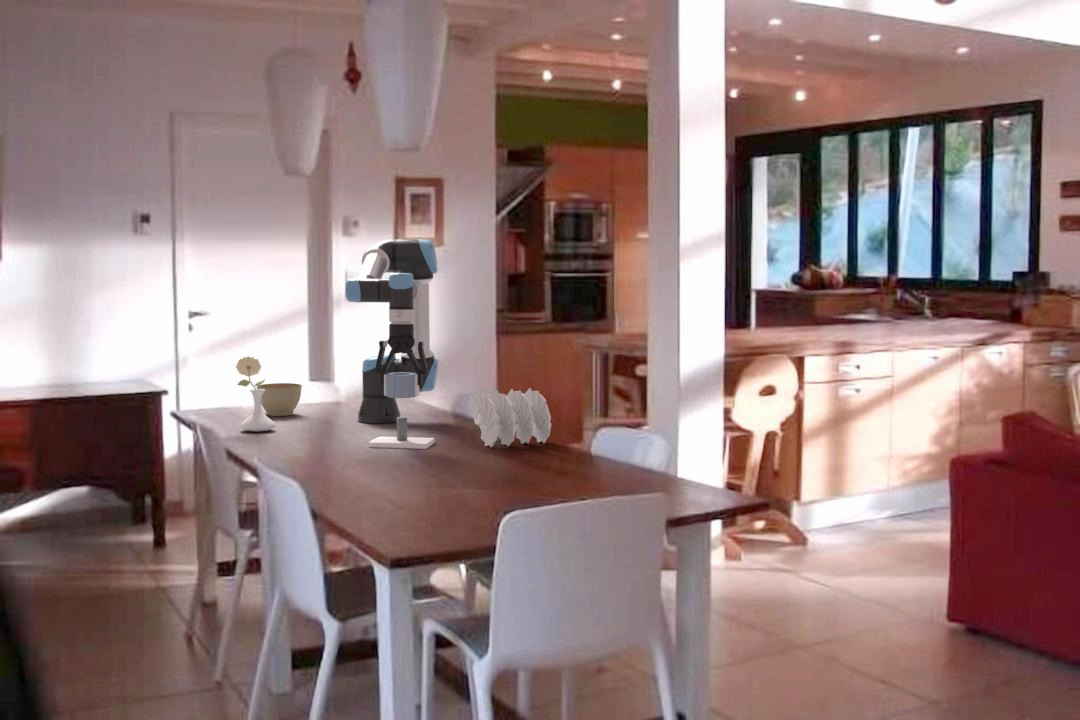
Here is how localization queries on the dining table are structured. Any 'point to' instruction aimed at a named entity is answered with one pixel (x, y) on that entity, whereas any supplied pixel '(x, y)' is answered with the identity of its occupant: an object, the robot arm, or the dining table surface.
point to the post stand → (402, 439)
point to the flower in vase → (257, 418)
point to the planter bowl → (280, 398)
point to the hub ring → (401, 385)
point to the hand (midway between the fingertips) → (401, 395)
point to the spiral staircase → (511, 416)
